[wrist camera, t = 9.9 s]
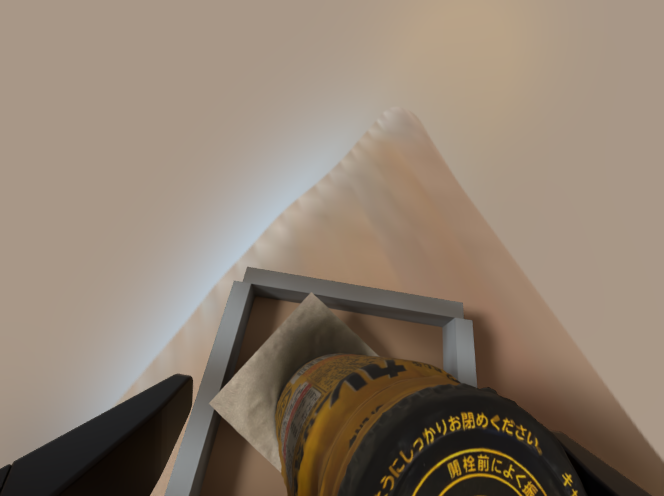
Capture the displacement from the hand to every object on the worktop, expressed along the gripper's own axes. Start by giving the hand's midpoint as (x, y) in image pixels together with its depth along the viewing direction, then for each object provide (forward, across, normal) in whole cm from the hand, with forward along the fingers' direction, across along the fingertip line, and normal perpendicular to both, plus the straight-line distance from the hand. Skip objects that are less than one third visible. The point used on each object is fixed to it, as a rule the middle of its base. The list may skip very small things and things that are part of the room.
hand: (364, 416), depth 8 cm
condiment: (+7, +1, +6) cm, 9 cm away
